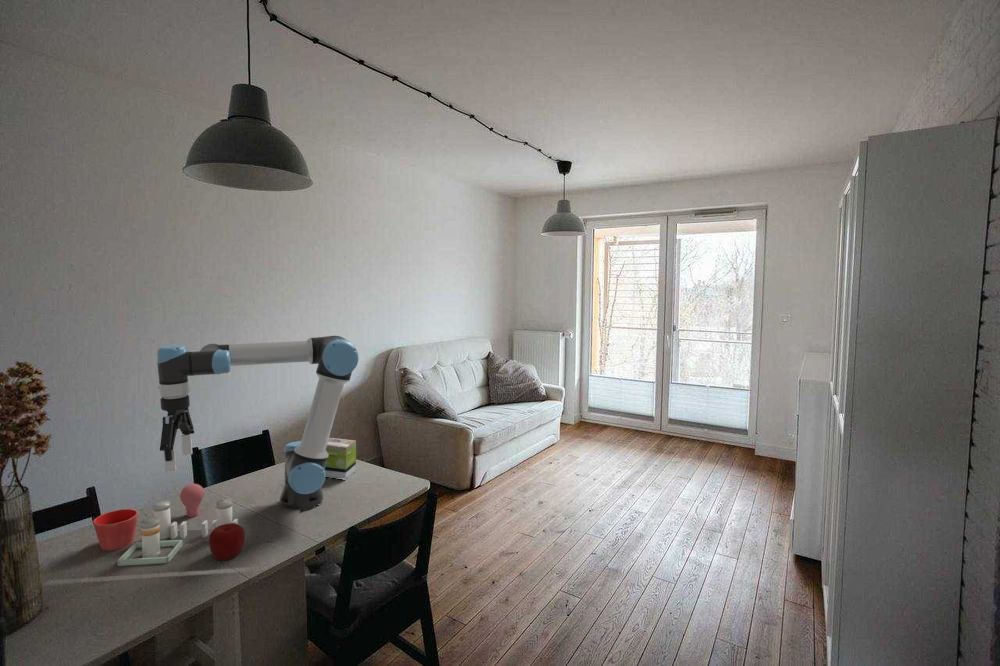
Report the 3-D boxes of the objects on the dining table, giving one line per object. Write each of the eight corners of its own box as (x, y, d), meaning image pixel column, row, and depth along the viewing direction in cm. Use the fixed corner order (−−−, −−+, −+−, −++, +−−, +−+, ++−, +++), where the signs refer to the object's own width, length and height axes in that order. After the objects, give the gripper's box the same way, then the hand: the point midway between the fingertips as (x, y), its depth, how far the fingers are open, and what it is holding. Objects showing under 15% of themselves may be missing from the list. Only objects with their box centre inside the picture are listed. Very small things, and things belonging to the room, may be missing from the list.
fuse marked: (163, 551, 155) (162, 516, 154) (156, 559, 150) (155, 523, 149) (146, 552, 154) (145, 517, 153) (139, 560, 150) (137, 524, 148)
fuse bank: (243, 530, 170) (243, 514, 169) (236, 543, 162) (235, 526, 161) (153, 535, 165) (153, 518, 164) (141, 548, 157) (140, 531, 156)
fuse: (174, 533, 164) (172, 500, 163) (167, 540, 160) (165, 506, 159) (159, 534, 164) (157, 501, 163) (151, 541, 159) (150, 507, 158)
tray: (183, 547, 158) (183, 539, 158) (168, 565, 149) (168, 557, 148) (135, 550, 156) (135, 542, 156) (117, 569, 146) (117, 560, 146)
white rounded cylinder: (234, 530, 168) (234, 498, 166) (230, 537, 163) (229, 504, 162) (219, 531, 167) (219, 499, 166) (214, 538, 162) (214, 505, 161)
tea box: (312, 477, 215) (312, 443, 214) (324, 468, 225) (324, 436, 223) (345, 481, 213) (346, 446, 211) (356, 472, 223) (356, 439, 221)
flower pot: (101, 541, 160) (99, 511, 159) (142, 535, 165) (141, 506, 164) (89, 558, 151) (87, 527, 150) (134, 552, 155) (133, 521, 154)
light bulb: (193, 524, 173) (192, 490, 172) (175, 521, 174) (174, 487, 173) (209, 514, 180) (208, 481, 178) (192, 512, 181) (191, 479, 180)
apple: (221, 548, 159) (220, 517, 158) (251, 549, 159) (251, 519, 157) (202, 565, 149) (201, 532, 148) (234, 567, 149) (234, 534, 148)
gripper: (176, 387, 169) (181, 449, 172) (142, 407, 145) (148, 478, 148) (201, 386, 171) (205, 447, 174) (172, 405, 147) (177, 476, 150)
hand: (179, 462), depth 161 cm, fingers open, 13 cm apart
